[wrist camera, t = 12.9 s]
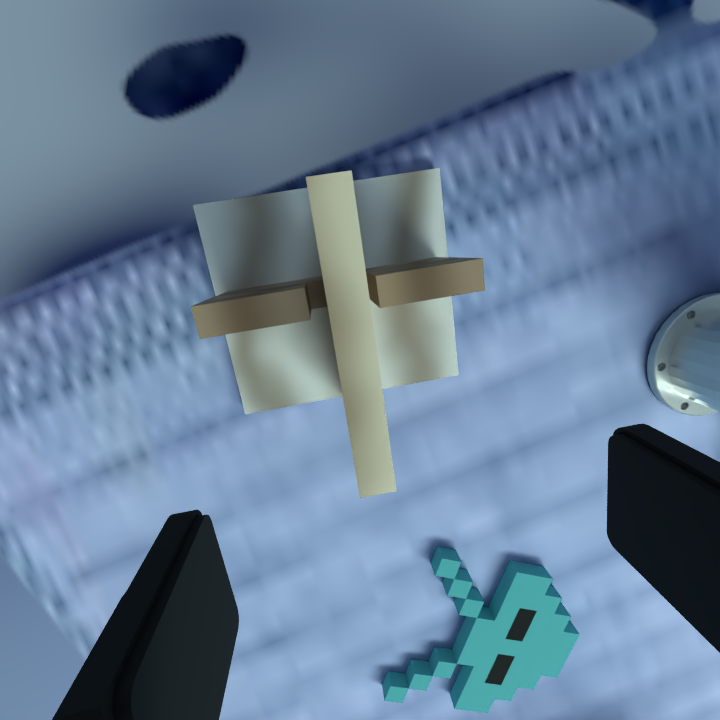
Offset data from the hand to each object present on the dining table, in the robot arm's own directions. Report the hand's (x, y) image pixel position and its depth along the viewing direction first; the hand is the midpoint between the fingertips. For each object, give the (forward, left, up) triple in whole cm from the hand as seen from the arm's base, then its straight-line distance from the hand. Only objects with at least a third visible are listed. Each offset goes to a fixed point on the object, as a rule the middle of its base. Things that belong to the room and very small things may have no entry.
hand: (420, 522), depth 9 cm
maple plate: (0, -1, -27) cm, 27 cm away
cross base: (0, -2, -28) cm, 28 cm away
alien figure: (-11, +39, -29) cm, 50 cm away
